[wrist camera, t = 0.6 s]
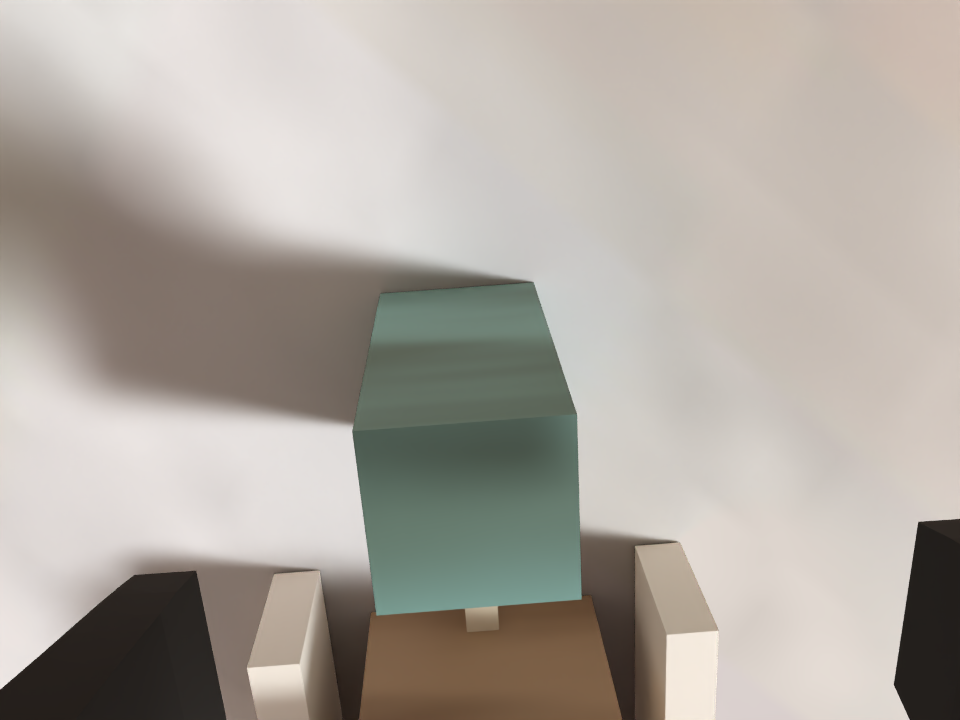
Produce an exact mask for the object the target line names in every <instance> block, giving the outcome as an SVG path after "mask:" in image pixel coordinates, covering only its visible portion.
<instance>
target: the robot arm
mask: <svg viewBox="0 0 960 720" xmlns="http://www.w3.org/2000/svg"><path fill="white" fill-rule="evenodd" d="M894 686H895V688H896V690H897V693H898V695H899V697H900V699H901V701H902V704H903V706H904V708H905V710H906V712H907V715H908V717H909V719H910V720H960V519H954V520H940V521H925V522H918V528H917V534H916V541H915V548H914V554H913V561H912V568H911V574H910V581H909V588H908V594H907V601H906V608H905V614H904V621H903V628H902V634H901V641H900V648H899V654H898V661H897V667H896V674H895V681H894ZM0 720H226V715H225V710H224V705H223V700H222V696H221V691H220V686H219V681H218V676H217V671H216V666H215V661H214V656H213V651H212V647H211V642H210V637H209V632H208V627H207V622H206V617H205V612H204V607H203V602H202V598H201V593H200V588H199V583H198V578H197V573H196V571H187V572H172V573H158V574H143V575H134V576H133V577H131V578H130V579H129V580H127V581H126V582H125V583H124V584H122V585H121V586H120V587H119V588H117V589H116V590H115V591H114V592H112V593H111V594H110V595H109V596H108V597H107V598H105V599H104V600H103V601H102V602H101V603H99V604H98V605H97V606H96V607H95V608H94V609H93V610H91V611H90V612H89V613H88V614H87V615H86V616H84V617H83V618H82V619H81V620H80V621H79V622H78V623H76V624H75V625H74V626H73V627H72V628H71V629H70V630H69V631H67V632H66V633H65V634H64V635H63V636H62V637H61V638H59V639H58V640H57V641H56V642H55V643H54V644H53V645H51V646H50V647H49V648H48V649H47V650H46V651H45V652H43V653H42V654H41V655H40V656H39V657H38V658H37V659H35V660H34V661H33V662H32V663H31V664H30V665H28V666H27V667H26V668H25V669H24V670H23V671H21V672H20V673H19V674H18V675H17V676H16V677H14V678H13V679H12V680H11V681H10V682H9V683H7V684H6V685H5V686H4V687H3V688H2V689H0Z"/></svg>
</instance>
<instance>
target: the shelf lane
mask: <svg viewBox="0 0 960 720" xmlns="http://www.w3.org/2000/svg"><path fill="white" fill-rule="evenodd" d="M718 639H719V630H718V628H717V625H716V623H715V621H714V619H713V616H712V614H711V612H710V610H709V607H708V605H707V603H706V600H705V598H704V596H703V594H702V591H701V589H700V587H699V585H698V582H697V580H696V578H695V575H694V573H693V571H692V569H691V566H690V564H689V562H688V560H687V557H686V555H685V553H684V551H683V548H682V546H681V544H680V543H667V544H654V545H641V546H635V720H715V706H716V684H717V661H718ZM247 671H248V676H249V681H250V686H251V691H252V696H253V701H254V706H255V711H256V716H257V720H343V718H342V711H341V705H340V698H339V692H338V686H337V679H336V673H335V666H334V660H333V654H332V647H331V641H330V634H329V628H328V622H327V615H326V609H325V602H324V596H323V590H322V583H321V577H320V570H319V571H306V572H293V573H280V574H274V576H273V580H272V583H271V587H270V590H269V593H268V597H267V600H266V604H265V607H264V611H263V614H262V618H261V621H260V624H259V628H258V631H257V635H256V638H255V642H254V645H253V649H252V652H251V655H250V659H249V662H248V666H247Z"/></svg>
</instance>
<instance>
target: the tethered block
mask: <svg viewBox="0 0 960 720" xmlns="http://www.w3.org/2000/svg"><path fill="white" fill-rule="evenodd" d="M352 433H353V440H354V448H355V455H356V463H357V471H358V478H359V486H360V494H361V501H362V509H363V516H364V524H365V532H366V539H367V547H368V555H369V562H370V570H371V577H372V585H373V593H374V600H375V608H376V612H371V617H370V626H369V635H368V644H367V653H366V662H365V671H364V680H363V689H362V698H361V707H360V715H359V720H622V716H621V712H620V708H619V704H618V700H617V696H616V692H615V688H614V684H613V680H612V676H611V672H610V668H609V664H608V661H607V657H606V653H605V649H604V645H603V641H602V637H601V633H600V629H599V625H598V621H597V617H596V613H595V609H594V605H593V601H592V597H591V595H585V596H582V595H581V555H580V516H579V477H578V438H577V413H576V410H575V407H574V404H573V401H572V398H571V395H570V392H569V389H568V386H567V383H566V380H565V377H564V374H563V371H562V368H561V364H560V361H559V358H558V355H557V352H556V349H555V346H554V343H553V340H552V337H551V334H550V331H549V328H548V325H547V322H546V319H545V316H544V313H543V310H542V307H541V304H540V301H539V298H538V295H537V292H536V289H535V285H534V282H531V283H517V284H503V285H490V286H476V287H463V288H449V289H435V290H422V291H408V292H395V293H381V294H380V297H379V302H378V307H377V312H376V317H375V322H374V327H373V332H372V337H371V342H370V346H369V351H368V356H367V361H366V366H365V371H364V376H363V381H362V386H361V391H360V396H359V401H358V406H357V411H356V416H355V421H354V426H353V430H352Z"/></svg>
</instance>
